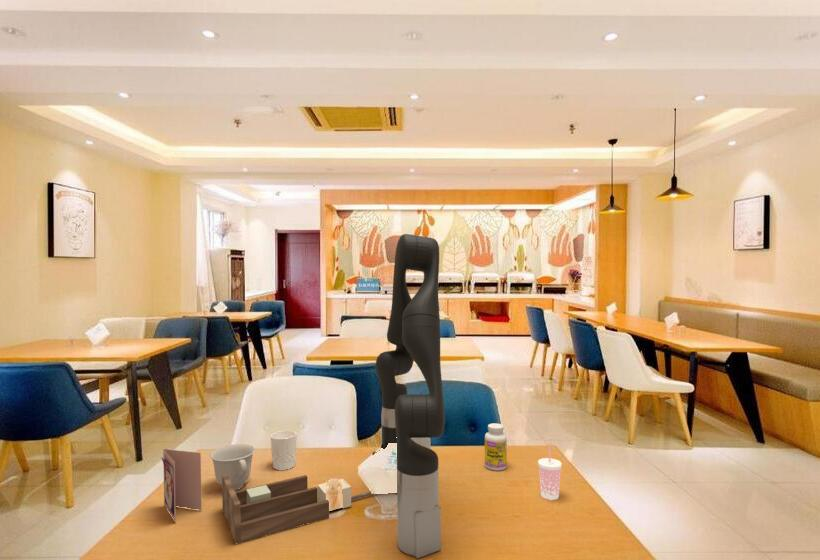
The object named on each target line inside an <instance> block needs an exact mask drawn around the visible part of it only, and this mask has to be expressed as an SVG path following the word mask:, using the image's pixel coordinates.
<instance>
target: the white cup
mask: <svg viewBox="0 0 820 560" xmlns="http://www.w3.org/2000/svg"><path fill="white" fill-rule="evenodd" d="M297 437H298V436H297V432H296V431H294V430H279V431H275V432H273V433H271V434H270V447H271V448H270V449H271V459H272V468H273V469H274V468H275V469H277V470H276V471H287V470H286V469H288V470H291V469H293V468H294V467H295V466H296V456H297V455H296V454H297ZM292 467H293V468H292ZM290 468H291V469H290ZM275 469H274V470H275Z"/></svg>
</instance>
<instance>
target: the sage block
mask: <svg viewBox="0 0 820 560" xmlns="http://www.w3.org/2000/svg"><path fill="white" fill-rule="evenodd" d="M263 485H264V486H261V485H258V486H259V487H256V486H254V487H255V488H252V487H250V488H251V489H248V488H245V489H246V496H247V504H249V503H253V502H257V501H261V500H265V499H269V498H271V492H270V490H269V489H268V487H267V485H265V484H263Z"/></svg>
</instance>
